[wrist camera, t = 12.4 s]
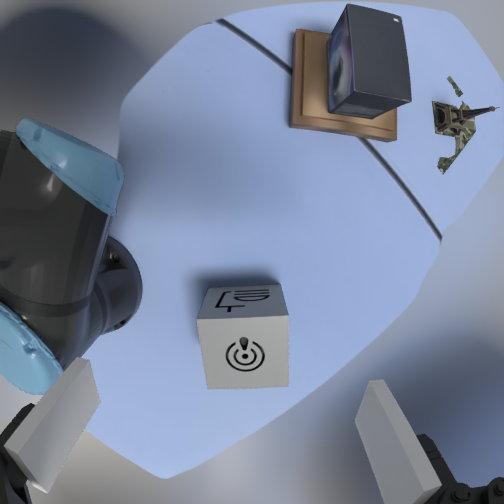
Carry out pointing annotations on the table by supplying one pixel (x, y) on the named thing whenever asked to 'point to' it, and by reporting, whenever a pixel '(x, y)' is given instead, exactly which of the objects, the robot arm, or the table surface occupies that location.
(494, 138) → the table surface
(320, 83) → the plinth
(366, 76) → the small box
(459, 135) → the eiffel tower figurine
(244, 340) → the icon cube
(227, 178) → the table surface
